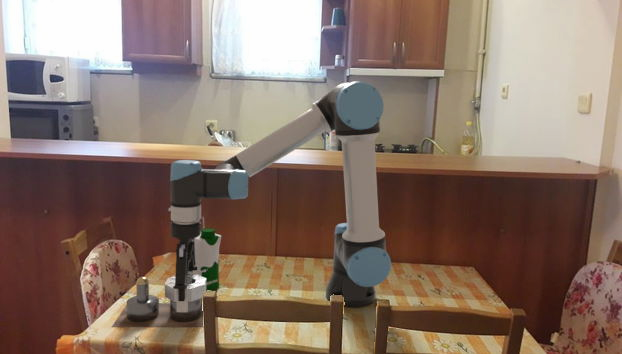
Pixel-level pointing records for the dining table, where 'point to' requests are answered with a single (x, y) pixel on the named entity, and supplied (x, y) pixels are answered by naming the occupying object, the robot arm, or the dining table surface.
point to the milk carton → (208, 257)
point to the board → (157, 319)
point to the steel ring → (194, 289)
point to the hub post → (142, 303)
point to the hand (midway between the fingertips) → (185, 302)
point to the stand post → (193, 309)
